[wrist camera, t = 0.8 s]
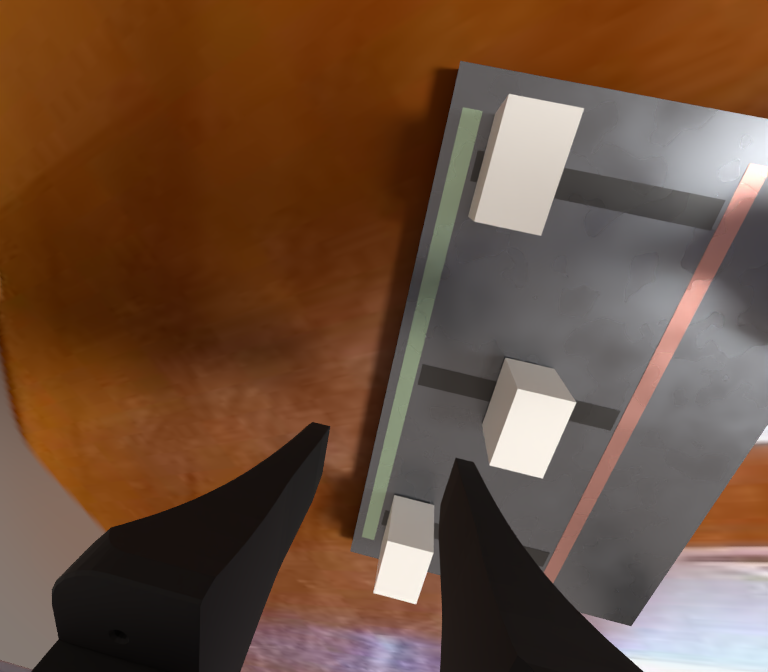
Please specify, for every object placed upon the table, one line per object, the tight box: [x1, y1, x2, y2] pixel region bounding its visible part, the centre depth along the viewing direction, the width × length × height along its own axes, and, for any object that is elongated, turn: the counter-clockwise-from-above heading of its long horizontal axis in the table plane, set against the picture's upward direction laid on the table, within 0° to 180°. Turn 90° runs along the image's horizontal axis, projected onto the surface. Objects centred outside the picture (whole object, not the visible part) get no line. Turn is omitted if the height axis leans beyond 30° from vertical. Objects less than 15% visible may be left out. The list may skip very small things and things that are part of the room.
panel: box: [351, 61, 768, 626], centre depth 20 cm, size 18×27×1 cm, turn 169°
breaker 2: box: [468, 94, 584, 236], centre depth 14 cm, size 2×4×3 cm, turn 169°
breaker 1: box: [373, 495, 434, 604], centre depth 22 cm, size 2×4×3 cm, turn 169°
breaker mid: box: [482, 358, 576, 479], centre depth 18 cm, size 2×4×3 cm, turn 169°
